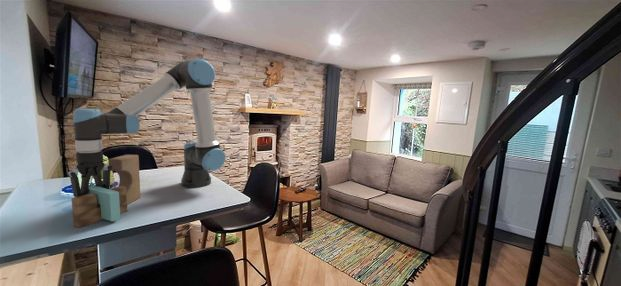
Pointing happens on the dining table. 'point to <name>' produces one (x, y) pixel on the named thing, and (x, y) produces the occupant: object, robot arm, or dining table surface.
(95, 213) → the walnut board
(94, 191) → the teal board
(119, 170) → the decorative block
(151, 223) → the dining table surface
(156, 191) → the dining table surface
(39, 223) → the dining table surface
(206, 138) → the robot arm
